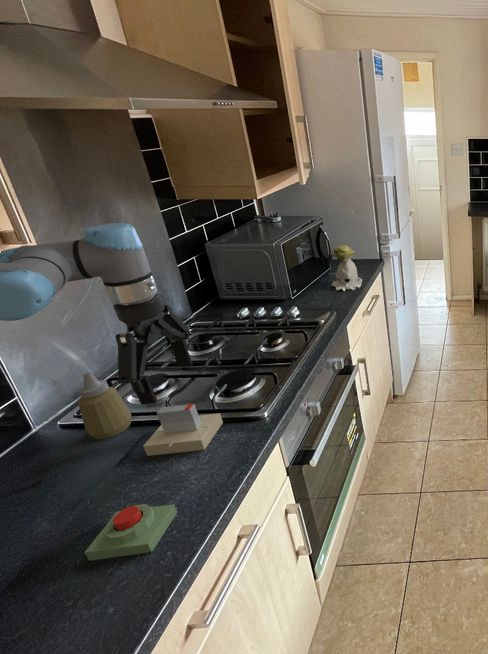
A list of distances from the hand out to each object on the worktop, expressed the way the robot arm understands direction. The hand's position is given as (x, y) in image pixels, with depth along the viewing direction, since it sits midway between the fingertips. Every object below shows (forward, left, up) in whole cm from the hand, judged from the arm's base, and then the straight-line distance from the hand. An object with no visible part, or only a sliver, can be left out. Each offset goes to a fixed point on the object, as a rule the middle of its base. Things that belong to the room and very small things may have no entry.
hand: (168, 382), depth 94 cm
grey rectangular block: (-1, 0, -13) cm, 13 cm away
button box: (+3, -25, -16) cm, 30 cm away
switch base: (-1, 0, -16) cm, 16 cm away
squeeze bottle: (-19, +4, -16) cm, 25 cm away
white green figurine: (+19, +88, -16) cm, 92 cm away
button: (+3, -25, -13) cm, 28 cm away
